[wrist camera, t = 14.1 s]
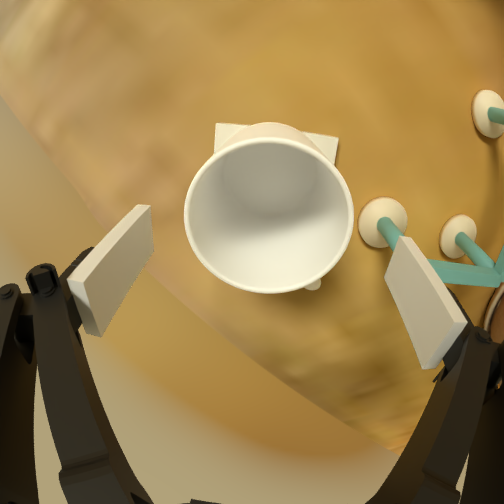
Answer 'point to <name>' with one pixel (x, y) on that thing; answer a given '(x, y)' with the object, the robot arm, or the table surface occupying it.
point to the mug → (269, 211)
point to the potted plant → (496, 316)
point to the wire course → (456, 228)
